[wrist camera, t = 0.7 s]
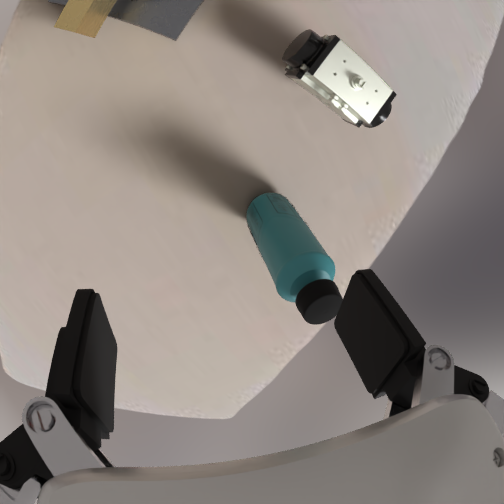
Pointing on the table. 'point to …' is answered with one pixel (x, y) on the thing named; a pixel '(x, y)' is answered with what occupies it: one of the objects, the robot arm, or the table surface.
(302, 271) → the beverage bottle
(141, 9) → the housing
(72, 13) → the gold slotted fixture
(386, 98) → the pneumatic valve
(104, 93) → the table surface
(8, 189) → the table surface
